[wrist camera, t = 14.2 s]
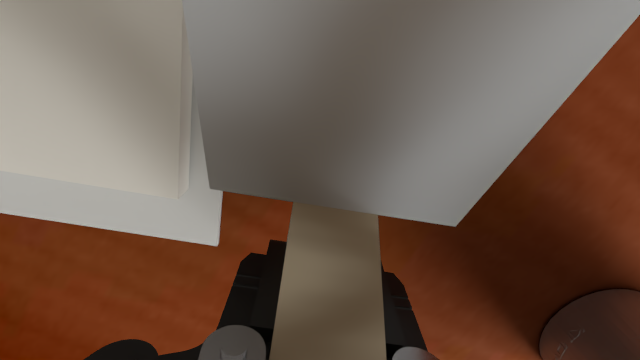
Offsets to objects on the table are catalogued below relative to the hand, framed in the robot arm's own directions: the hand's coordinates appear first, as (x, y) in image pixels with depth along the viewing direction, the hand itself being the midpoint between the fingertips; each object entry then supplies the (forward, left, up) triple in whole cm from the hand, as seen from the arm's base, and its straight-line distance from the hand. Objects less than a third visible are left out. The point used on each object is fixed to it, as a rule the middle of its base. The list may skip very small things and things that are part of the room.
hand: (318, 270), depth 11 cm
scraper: (0, -3, 0) cm, 3 cm away
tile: (+14, +3, -9) cm, 17 cm away
